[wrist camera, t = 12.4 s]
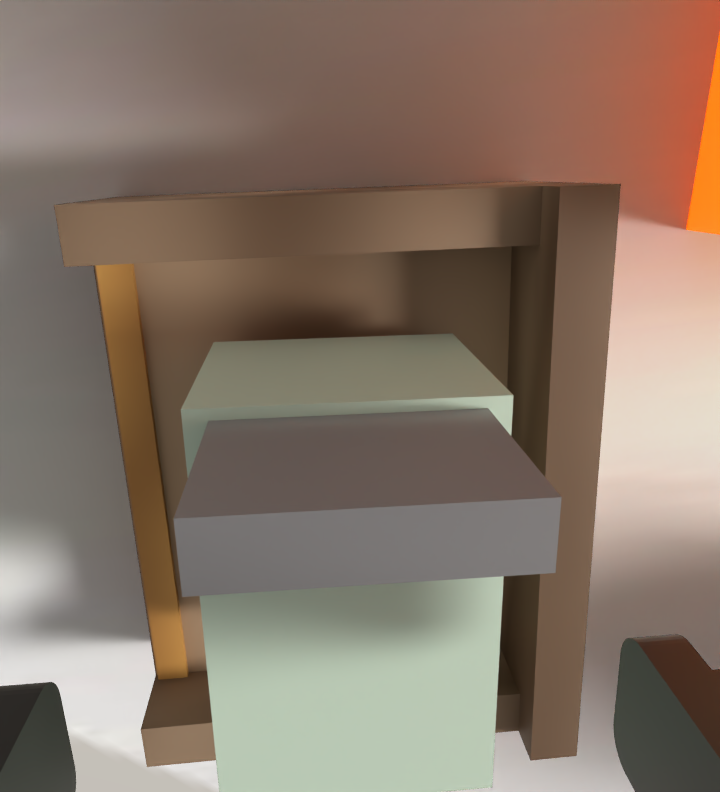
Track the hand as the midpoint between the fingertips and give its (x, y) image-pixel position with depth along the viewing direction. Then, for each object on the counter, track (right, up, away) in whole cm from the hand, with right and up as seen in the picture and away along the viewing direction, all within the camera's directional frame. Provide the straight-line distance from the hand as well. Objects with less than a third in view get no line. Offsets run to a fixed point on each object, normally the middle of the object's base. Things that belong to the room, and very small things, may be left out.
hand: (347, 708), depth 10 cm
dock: (-1, +3, +11) cm, 12 cm away
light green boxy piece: (0, +2, +8) cm, 9 cm away
